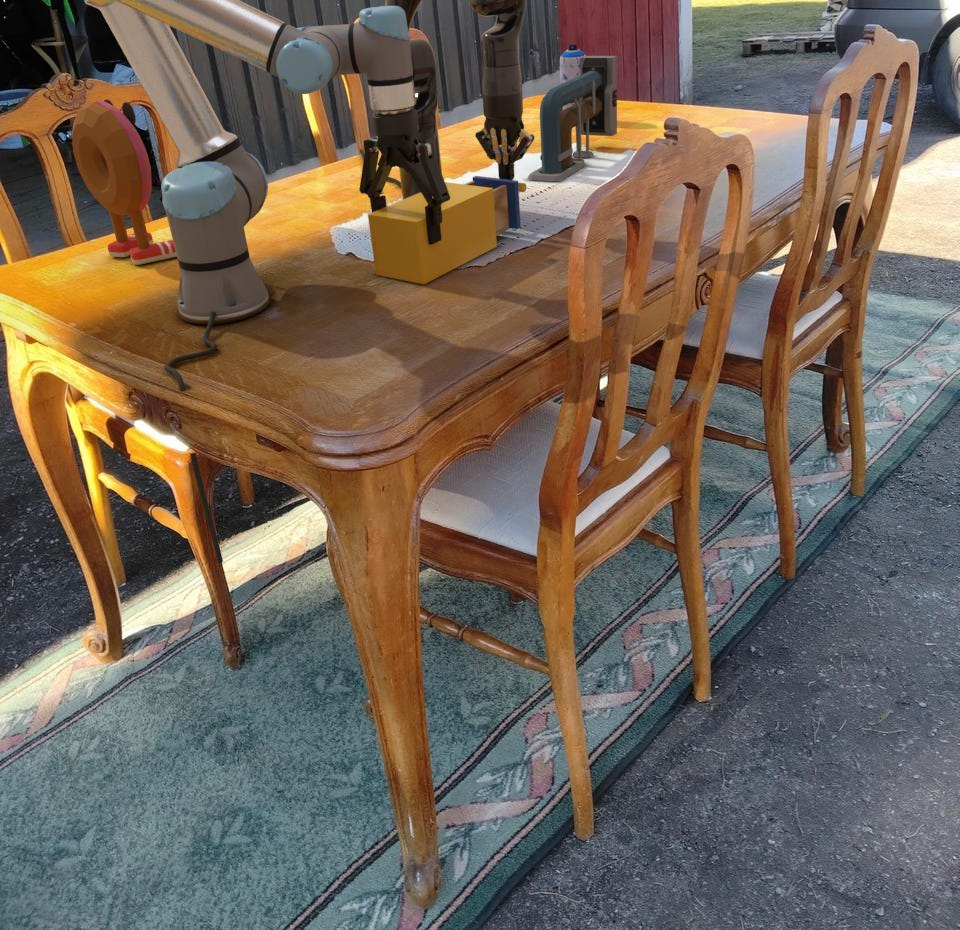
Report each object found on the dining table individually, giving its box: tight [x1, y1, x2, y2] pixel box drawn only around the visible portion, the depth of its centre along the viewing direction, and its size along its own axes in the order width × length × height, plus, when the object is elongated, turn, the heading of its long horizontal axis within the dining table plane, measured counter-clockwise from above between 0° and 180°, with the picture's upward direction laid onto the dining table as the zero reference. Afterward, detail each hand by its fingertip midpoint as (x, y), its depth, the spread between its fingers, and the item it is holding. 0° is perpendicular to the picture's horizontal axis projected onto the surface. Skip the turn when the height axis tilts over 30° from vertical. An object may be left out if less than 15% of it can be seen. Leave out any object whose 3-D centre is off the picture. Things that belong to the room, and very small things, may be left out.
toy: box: [71, 98, 177, 266], centre depth 188 cm, size 21×10×30 cm, turn 47°
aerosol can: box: [559, 43, 587, 110], centre depth 273 cm, size 8×8×20 cm
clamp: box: [527, 55, 618, 182], centre depth 230 cm, size 35×9×21 cm, turn 151°
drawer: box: [463, 175, 527, 236], centre depth 185 cm, size 27×10×9 cm, turn 143°
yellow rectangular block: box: [367, 181, 498, 285], centre depth 177 cm, size 22×11×11 cm, turn 143°
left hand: (408, 237), depth 172 cm, fingers closed on yellow rectangular block, 11 cm apart
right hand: (506, 181), depth 191 cm, fingers closed
